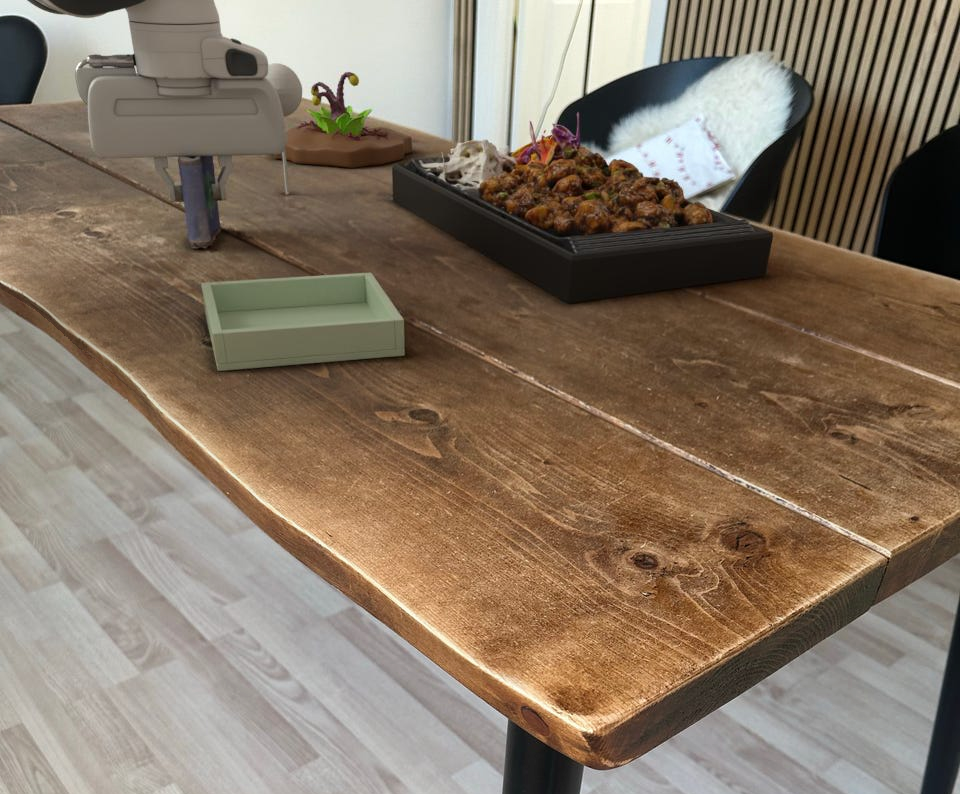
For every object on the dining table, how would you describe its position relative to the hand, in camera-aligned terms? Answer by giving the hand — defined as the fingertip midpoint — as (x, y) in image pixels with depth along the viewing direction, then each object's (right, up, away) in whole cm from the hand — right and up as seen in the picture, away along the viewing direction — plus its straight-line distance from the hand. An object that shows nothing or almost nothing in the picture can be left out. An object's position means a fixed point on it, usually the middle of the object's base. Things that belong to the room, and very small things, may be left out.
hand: (198, 200), depth 106 cm
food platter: (+41, 0, +8) cm, 42 cm away
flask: (0, -3, +3) cm, 4 cm away
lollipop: (+6, +11, +22) cm, 25 cm away
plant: (+10, +27, +44) cm, 52 cm away
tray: (+15, -22, -21) cm, 34 cm away
